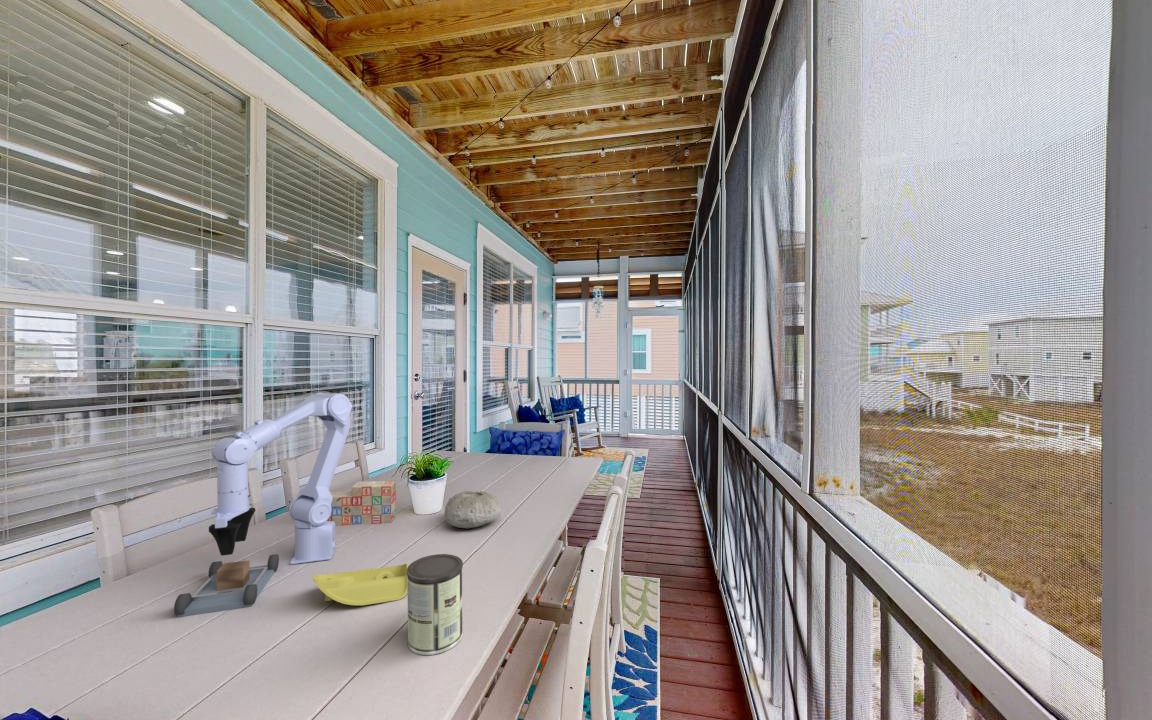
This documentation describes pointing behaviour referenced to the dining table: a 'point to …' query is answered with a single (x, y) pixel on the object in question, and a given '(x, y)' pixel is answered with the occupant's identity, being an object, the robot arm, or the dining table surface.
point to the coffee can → (434, 604)
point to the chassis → (225, 591)
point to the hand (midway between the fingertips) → (233, 547)
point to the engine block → (233, 575)
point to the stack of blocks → (365, 504)
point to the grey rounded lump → (472, 509)
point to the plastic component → (365, 585)
